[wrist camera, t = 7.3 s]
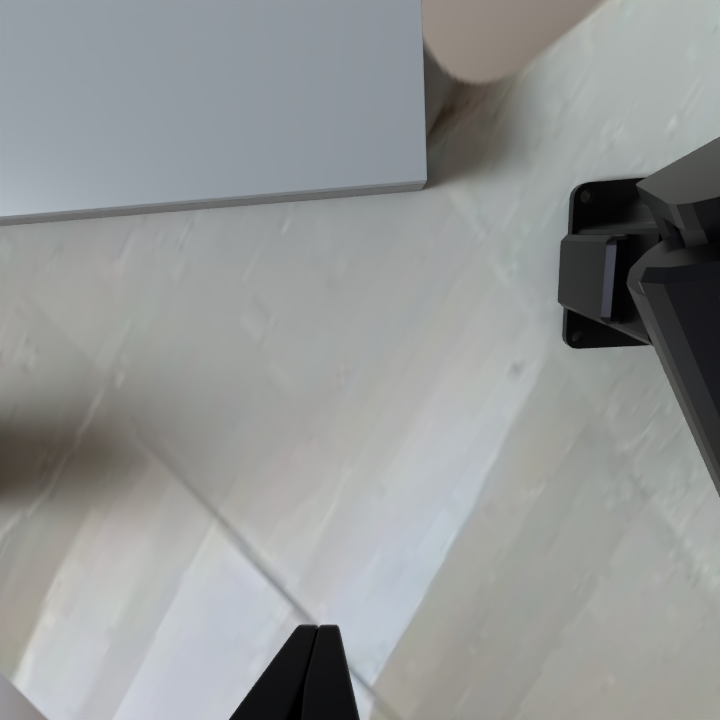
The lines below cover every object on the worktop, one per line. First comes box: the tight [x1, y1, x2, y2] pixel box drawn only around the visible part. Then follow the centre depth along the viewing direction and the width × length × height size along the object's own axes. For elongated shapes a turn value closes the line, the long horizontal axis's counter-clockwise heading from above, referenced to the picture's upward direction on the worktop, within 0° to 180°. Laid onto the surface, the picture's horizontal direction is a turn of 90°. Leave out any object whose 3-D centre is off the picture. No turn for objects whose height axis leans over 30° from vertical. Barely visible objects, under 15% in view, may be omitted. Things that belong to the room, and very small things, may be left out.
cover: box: [0, 0, 427, 219], centre depth 15 cm, size 20×8×1 cm, turn 94°
